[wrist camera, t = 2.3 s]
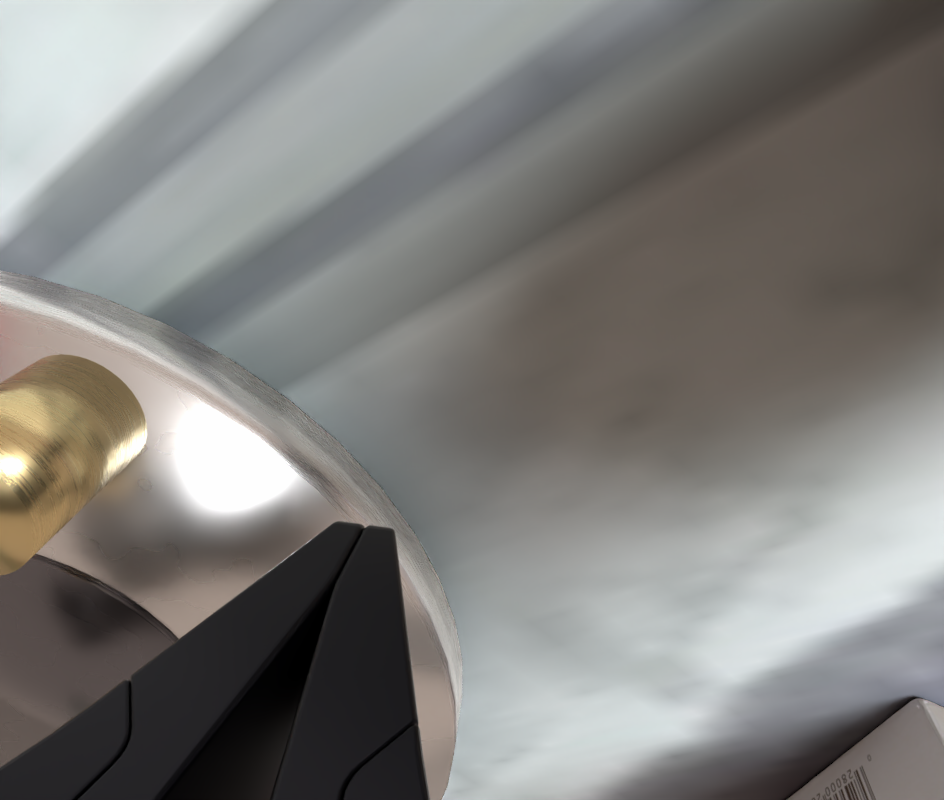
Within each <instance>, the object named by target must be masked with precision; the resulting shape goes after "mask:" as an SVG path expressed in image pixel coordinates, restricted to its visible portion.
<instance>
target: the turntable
mask: <svg viewBox="0 0 944 800" xmlns="http://www.w3.org/2000/svg"><path fill="white" fill-rule="evenodd" d="M337 521H344V522H352V523H359V524H362V525H363V526H364V527H367V526H369V525H374V526H381V527H388V528H392V529H394V531H395V534H396V542H397V550H398V558H399V566H400V574H401V582H402V591H403V599H404V607H405V615H406V623H407V631H408V639H409V647H410V655H411V663H412V671H413V680H414V688H415V696H416V704H417V712H418V720H419V725H418V726H419V728H420V734H421V742H422V750H423V758H424V764H425V770H426V776H427V783H428V789H429V795H430V800H441V799H442V797H443V795H444V792H445V790H446V788H447V785H448V780H449V775H450V770H451V765H452V760H453V755H454V748H455V742H456V735H457V729H458V722H459V715H460V709H461V702H462V655H461V650H460V645H459V640H458V634H457V629H456V624H455V619H454V617H453V614H452V611H451V609H450V606H449V603H448V600H447V598H446V595H445V592H444V590H443V587H442V584H441V582H440V579H439V577H438V575H437V573H436V571H435V569H434V568H433V566H432V564H431V562H430V560H429V558H428V557H427V555H426V553H425V551H424V549H423V547H422V546H421V544H420V542H419V540H418V538H417V536H416V535H415V533H414V532H413V530H412V529H411V527H410V526H409V525H408V523H407V522H406V521H405V519H404V518H403V517H402V515H401V514H400V512H399V511H398V510H397V508H396V507H395V506H394V504H393V503H392V502H391V500H390V499H389V497H388V496H387V495H386V493H385V492H384V491H383V489H382V488H381V487H380V486H379V485H378V484H377V483H376V482H375V480H374V479H373V478H372V477H371V476H370V475H369V474H368V473H367V472H366V471H365V470H364V469H363V468H362V467H361V465H360V464H359V463H358V462H357V461H356V460H355V459H354V458H353V457H352V456H351V455H350V454H349V453H348V452H347V450H346V449H345V448H344V447H343V446H342V445H341V444H340V443H339V442H338V441H337V440H335V439H334V438H333V437H332V436H331V435H330V434H328V433H327V432H326V431H325V430H324V429H323V428H321V427H320V426H319V425H318V424H317V423H316V422H315V421H313V420H312V419H311V418H310V417H309V416H308V415H306V414H305V413H304V412H303V411H302V410H301V409H299V408H298V407H297V406H296V405H295V404H294V403H292V402H291V401H290V400H289V399H287V398H286V397H284V396H283V395H282V394H280V393H279V392H277V391H276V390H274V389H273V388H271V387H270V386H269V385H267V384H266V383H264V382H263V381H261V380H260V379H258V378H257V377H256V376H254V375H253V374H251V373H250V372H248V371H247V370H245V369H244V368H242V367H241V366H240V365H238V364H237V363H235V362H234V361H232V360H231V359H229V358H227V357H225V356H224V355H222V354H220V353H218V352H216V351H214V350H213V349H211V348H209V347H207V346H205V345H203V344H202V343H200V342H198V341H196V340H194V339H192V338H191V337H189V336H187V335H185V334H183V333H182V332H180V331H178V330H176V329H174V328H172V327H171V326H169V325H167V324H164V323H162V322H160V321H157V320H155V319H152V318H150V317H148V316H145V315H143V314H141V313H138V312H136V311H133V310H131V309H129V308H126V307H124V306H121V305H119V304H117V303H114V302H112V301H110V300H107V299H105V298H102V297H100V296H97V295H93V294H90V293H86V292H83V291H80V290H76V289H73V288H70V287H66V286H63V285H60V284H56V283H53V282H49V281H46V280H43V279H39V278H36V277H33V276H27V275H22V274H16V273H10V272H4V271H0V767H1V766H3V765H4V764H6V763H7V762H9V761H10V760H12V759H13V758H15V757H17V756H18V755H20V754H21V753H23V752H24V751H26V750H27V749H29V748H30V747H32V746H33V745H35V744H36V743H38V742H39V741H41V740H42V739H44V738H45V737H47V736H48V735H50V734H51V733H52V732H54V731H55V730H57V729H58V728H59V727H61V726H62V725H64V724H65V723H66V722H68V721H69V720H71V719H72V718H73V717H75V716H76V715H77V714H79V713H80V712H82V711H83V710H84V709H86V708H87V707H89V706H90V705H91V704H93V703H94V702H95V701H97V700H98V699H100V698H101V697H102V696H103V695H105V694H106V693H107V692H109V691H110V690H111V689H113V688H114V687H115V686H117V685H118V684H119V683H121V682H122V681H123V680H126V679H127V680H129V681H130V677H131V675H132V674H133V673H134V672H136V671H137V670H138V669H140V668H141V667H142V666H144V665H145V664H146V663H148V662H149V661H150V660H152V659H153V658H154V657H156V656H157V655H158V654H160V653H161V652H162V651H164V650H165V649H166V648H168V647H169V646H170V645H172V644H173V643H174V642H176V641H177V640H178V639H180V638H181V637H182V636H184V635H185V634H186V633H188V632H189V631H190V630H192V629H193V628H194V627H196V626H197V625H198V624H199V623H201V622H202V621H203V620H205V619H206V618H207V617H209V616H210V615H211V614H213V613H214V612H215V611H217V610H218V609H219V608H221V607H222V606H223V605H225V604H226V603H227V602H229V601H230V600H231V599H233V598H234V597H235V596H237V595H238V594H239V593H241V592H242V591H243V590H245V589H246V588H247V587H249V586H250V585H251V584H253V583H254V582H255V581H257V580H258V579H259V578H261V577H262V576H263V575H265V574H266V573H267V572H269V571H270V570H271V569H273V568H274V567H275V566H277V565H278V564H279V563H280V562H282V561H283V560H284V559H286V558H287V557H288V556H290V555H291V554H292V553H294V552H295V551H296V550H298V549H299V548H300V547H302V546H303V545H304V544H306V543H307V542H308V541H310V540H311V539H312V538H314V537H315V536H316V535H318V534H319V533H320V532H322V531H323V530H324V529H326V528H327V527H328V526H330V525H331V524H332V523H334V522H337Z"/></svg>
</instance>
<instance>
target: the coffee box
mask: <svg viewBox="0 0 944 800" xmlns="http://www.w3.org/2000/svg"><path fill="white" fill-rule="evenodd" d="M787 800H944V707H941V706H939V705H937V704H935V703H932V702H930V701H928V700H924V699H921V698H917V699H914V700H912V701H910V702H909V703H908V704H906V705H905V706H904V707H903V708H901V709H900V710H899V711H897V712H896V713H895V714H894V715H892V716H891V717H890V718H889V719H887V720H886V721H885V722H883V723H882V724H881V725H880V726H878V727H877V728H876V729H875V730H873V731H872V732H871V733H870V734H868V735H867V736H866V737H865V738H863V739H862V740H861V741H860V742H858V743H857V744H856V745H855V746H853V747H852V748H851V749H850V750H848V751H847V752H846V753H845V754H843V755H842V756H841V757H840V758H838V759H837V760H836V761H835V762H834V763H832V764H831V765H830V766H829V767H827V768H826V769H825V770H824V771H822V772H821V773H820V774H819V775H817V776H816V777H815V778H813V779H812V780H811V781H810V782H808V783H807V784H806V785H805V786H804V787H802V788H801V789H800V790H799V791H797V792H796V793H795V794H793V795H792V796H791V797H789V798H788V799H787Z"/></svg>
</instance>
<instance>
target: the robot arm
mask: <svg viewBox="0 0 944 800" xmlns="http://www.w3.org/2000/svg"><path fill="white" fill-rule="evenodd" d="M418 725H419V720H418V712H417V704H416V696H415V688H414V680H413V671H412V663H411V655H410V647H409V639H408V631H407V623H406V615H405V607H404V599H403V591H402V582H401V574H400V566H399V558H398V550H397V542H396V534H395V531H394V529H392V528H388V527H381V526H374V525H369V526H367V527H364V526H363V525H362V524H359V523H352V522H344V521H337V522H334V523H332V524H331V525H330V526H328V527H327V528H326V529H324V530H323V531H322V532H320V533H319V534H318V535H316V536H315V537H314V538H312V539H311V540H310V541H308V542H307V543H306V544H304V545H303V546H302V547H300V548H299V549H298V550H296V551H295V552H294V553H292V554H291V555H290V556H288V557H287V558H286V559H284V560H283V561H282V562H280V563H279V564H278V565H277V566H275V567H274V568H273V569H271V570H270V571H269V572H267V573H266V574H265V575H263V576H262V577H261V578H259V579H258V580H257V581H255V582H254V583H253V584H251V585H250V586H249V587H247V588H246V589H245V590H243V591H242V592H241V593H239V594H238V595H237V596H235V597H234V598H233V599H231V600H230V601H229V602H227V603H226V604H225V605H223V606H222V607H221V608H219V609H218V610H217V611H215V612H214V613H213V614H211V615H210V616H209V617H207V618H206V619H205V620H203V621H202V622H201V623H199V624H198V625H197V626H196V627H194V628H193V629H192V630H190V631H189V632H188V633H186V634H185V635H184V636H182V637H181V638H180V639H178V640H177V641H176V642H174V643H173V644H172V645H170V646H169V647H168V648H166V649H165V650H164V651H162V652H161V653H160V654H158V655H157V656H156V657H154V658H153V659H152V660H150V661H149V662H148V663H146V664H145V665H144V666H142V667H141V668H140V669H138V670H137V671H136V672H134V673H133V674H132V675H131V677H130V681H129V680H127V679H126V680H123V681H122V682H121V683H119V684H118V685H117V686H115V687H114V688H113V689H111V690H110V691H109V692H107V693H106V694H105V695H103V696H102V697H101V698H100V699H98V700H97V701H95V702H94V703H93V704H91V705H90V706H89V707H87V708H86V709H84V710H83V711H82V712H80V713H79V714H77V715H76V716H75V717H73V718H72V719H71V720H69V721H68V722H66V723H65V724H64V725H62V726H61V727H59V728H58V729H57V730H55V731H54V732H52V733H51V734H50V735H48V736H47V737H45V738H44V739H42V740H41V741H39V742H38V743H36V744H35V745H33V746H32V747H30V748H29V749H27V750H26V751H24V752H23V753H21V754H20V755H18V756H17V757H15V758H13V759H12V760H10V761H9V762H7V763H6V764H4V765H3V766H1V767H0V800H430V795H429V789H428V783H427V776H426V770H425V764H424V758H423V750H422V742H421V734H420V728H419V726H418Z"/></svg>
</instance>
